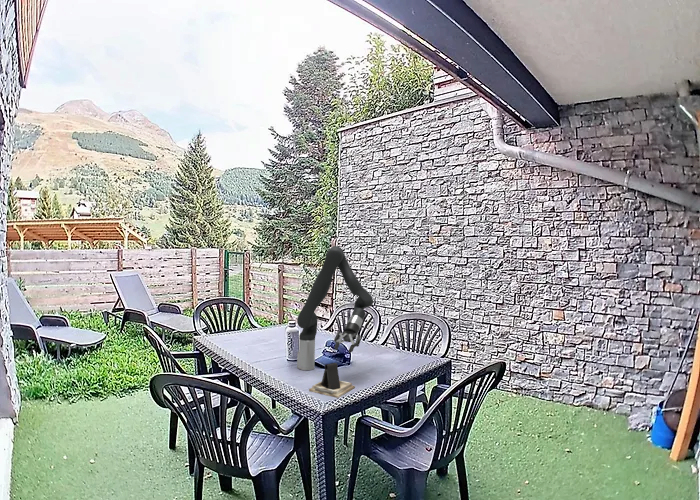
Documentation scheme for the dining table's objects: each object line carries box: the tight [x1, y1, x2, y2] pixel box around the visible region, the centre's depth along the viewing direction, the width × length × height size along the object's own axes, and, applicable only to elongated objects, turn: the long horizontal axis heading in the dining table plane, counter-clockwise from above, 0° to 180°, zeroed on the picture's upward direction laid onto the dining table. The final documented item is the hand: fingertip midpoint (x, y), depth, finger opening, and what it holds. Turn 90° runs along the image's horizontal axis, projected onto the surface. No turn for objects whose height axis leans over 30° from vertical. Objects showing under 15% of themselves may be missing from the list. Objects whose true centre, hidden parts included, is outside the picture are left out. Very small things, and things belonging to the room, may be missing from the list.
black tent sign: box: [321, 362, 340, 390], centre depth 231 cm, size 9×6×12 cm, turn 35°
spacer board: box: [308, 380, 356, 399], centre depth 230 cm, size 17×17×2 cm
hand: (342, 350), depth 238 cm, fingers open, 8 cm apart
